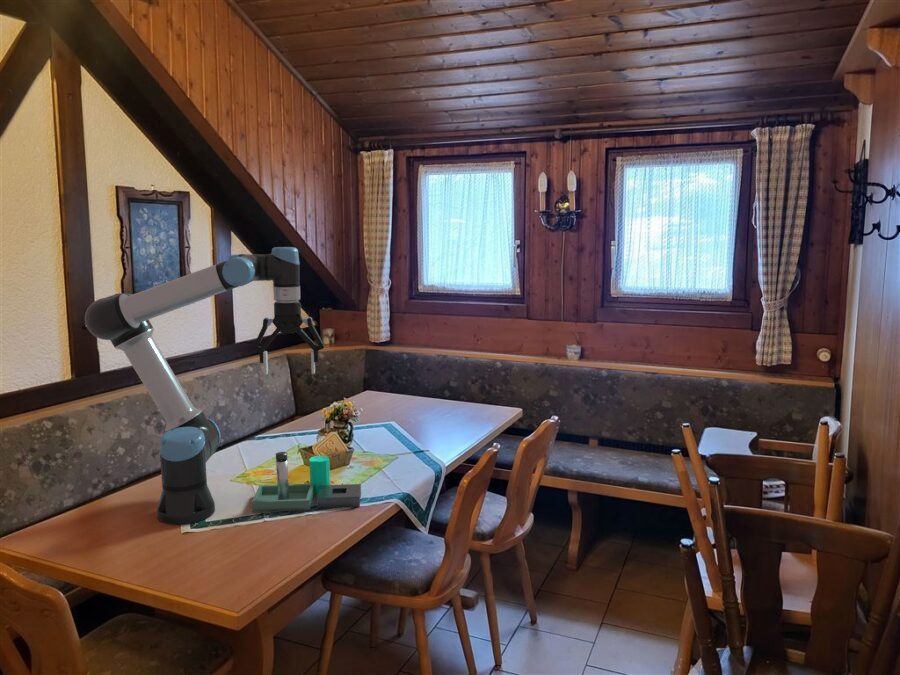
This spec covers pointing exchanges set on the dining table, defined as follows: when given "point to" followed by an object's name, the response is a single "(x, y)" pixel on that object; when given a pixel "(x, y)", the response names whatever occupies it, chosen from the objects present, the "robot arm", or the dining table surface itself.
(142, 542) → the dining table surface
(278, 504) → the tray
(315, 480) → the candle
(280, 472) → the pin
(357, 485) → the block
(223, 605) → the dining table surface
